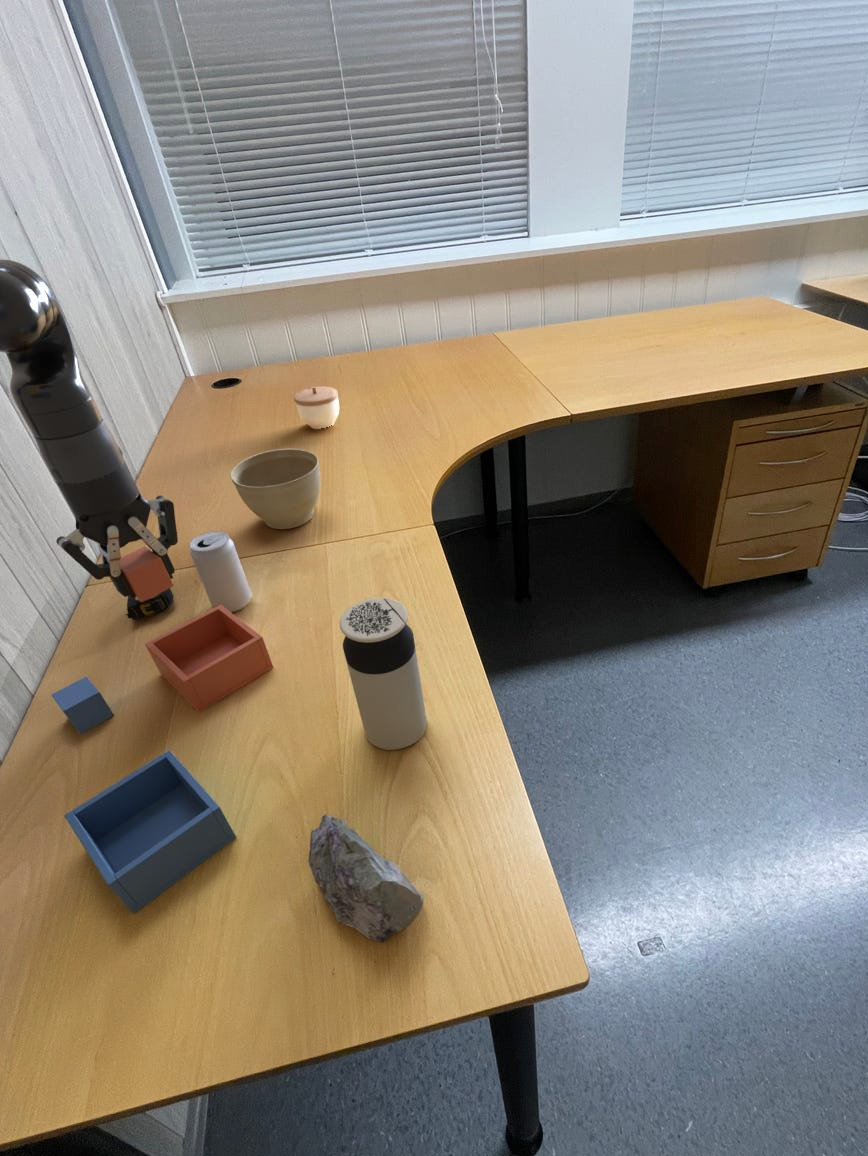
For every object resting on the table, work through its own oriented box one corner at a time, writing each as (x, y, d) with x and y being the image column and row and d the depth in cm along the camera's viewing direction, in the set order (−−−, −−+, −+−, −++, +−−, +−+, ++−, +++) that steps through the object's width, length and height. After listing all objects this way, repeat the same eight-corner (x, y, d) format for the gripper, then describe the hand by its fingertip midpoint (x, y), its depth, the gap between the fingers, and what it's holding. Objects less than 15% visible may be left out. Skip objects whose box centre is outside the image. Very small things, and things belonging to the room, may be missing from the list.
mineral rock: (311, 843, 67) (288, 787, 61) (409, 819, 69) (396, 762, 63) (316, 963, 58) (289, 912, 51) (430, 932, 59) (418, 879, 53)
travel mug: (375, 760, 76) (347, 649, 64) (358, 716, 81) (329, 607, 70) (436, 738, 78) (419, 627, 66) (415, 697, 83) (397, 588, 72)
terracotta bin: (199, 712, 83) (183, 681, 80) (160, 674, 90) (144, 643, 86) (273, 667, 89) (262, 636, 86) (232, 634, 96) (220, 604, 92)
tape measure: (133, 602, 104) (124, 584, 101) (176, 592, 105) (168, 573, 103) (132, 626, 99) (121, 607, 96) (177, 614, 100) (168, 596, 98)
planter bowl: (292, 491, 131) (279, 442, 124) (347, 510, 124) (336, 459, 117) (230, 525, 122) (211, 473, 115) (285, 548, 114) (269, 494, 107)
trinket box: (350, 425, 158) (343, 387, 152) (310, 436, 154) (301, 398, 148) (332, 413, 165) (325, 377, 159) (294, 424, 161) (285, 386, 155)
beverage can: (205, 605, 102) (179, 542, 94) (240, 587, 105) (217, 525, 98) (225, 620, 98) (199, 556, 91) (260, 601, 102) (238, 538, 94)
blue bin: (133, 914, 62) (107, 885, 59) (89, 845, 69) (63, 815, 65) (236, 837, 68) (219, 806, 65) (187, 780, 75) (169, 749, 71)
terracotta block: (141, 602, 80) (126, 573, 77) (126, 589, 82) (111, 561, 79) (174, 586, 82) (160, 557, 79) (158, 574, 85) (145, 546, 82)
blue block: (80, 734, 81) (63, 711, 78) (67, 717, 84) (50, 694, 81) (114, 715, 84) (99, 691, 81) (101, 699, 86) (86, 676, 83)
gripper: (134, 436, 77) (186, 553, 88) (10, 480, 69) (84, 601, 80) (162, 451, 73) (212, 571, 84) (33, 499, 65) (107, 624, 76)
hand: (149, 585), depth 82 cm, fingers closed on terracotta block, 4 cm apart
